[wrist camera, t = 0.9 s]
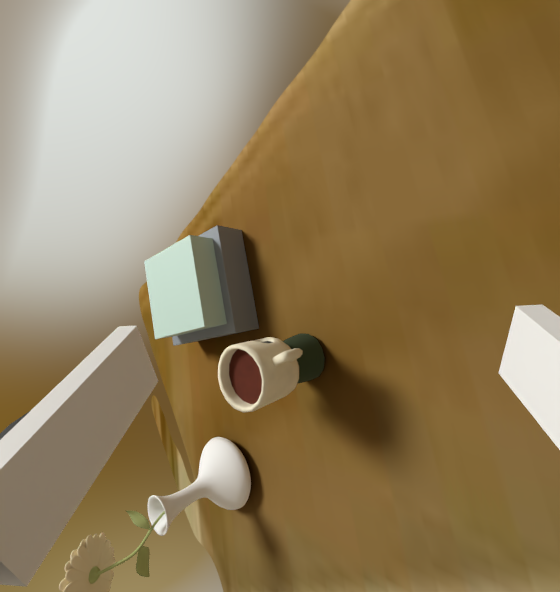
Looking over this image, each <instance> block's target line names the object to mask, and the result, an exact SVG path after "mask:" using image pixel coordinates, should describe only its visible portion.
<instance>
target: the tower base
mask: <svg viewBox="0 0 560 592" xmlns="http://www.w3.org/2000/svg"><path fill="white" fill-rule="evenodd" d="M144 263H145V270H146V277H147V284H148V291H149V298H150V305H151V313H152V320H153V327H154V334H155V339H159V338H166V337H172V338H173V345H179V344H185V343H191V342H197V341H202V340H206V339H211V338H216V337H221V336H226V335H230V334H235V333H240V332H245V331H250V330H254V329H259V325H258V319H257V313H256V308H255V302H254V297H253V291H252V286H251V280H250V275H249V269H248V264H247V258H246V252H245V247H244V241H243V236H242V230H238V229H233V228H228V227H223V226H215V227H214V228H212V229H210V230H208V231H206V232H205V233H203V234H201V235H199V236H193V235H189V236H187V237H186V238H184V239H182V240H180V241H179V242H177V243H175V244H174V245H172V246H170V247H168V248H167V249H165V250H163V251H162V252H160V253H158V254H156V255H155V256H153V257H151V258H150V259H148V260H146V261H144Z"/></svg>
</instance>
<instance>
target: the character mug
mask: <svg viewBox="0 0 560 592" xmlns="http://www.w3.org/2000/svg"><path fill="white" fill-rule="evenodd" d="M324 361H325V358H324V354H323V350H322V347H321V345H320V344H319V342H318V340H317V339H316V338H314V337H313V336H311V335H309V334H298V335H295V336H293V337H290V338H288V339H286V340H284V341H281V340H280V339H278V338H274V337H267V338H263V339H258V340H254V341H248V342H243V343H238V344H234V345H231V346H229V347H227V348H226V349H225V350H224V352H223V353H222V355H221V357H220V360H219V364H218V380H219V384H220V389H221V391H222V393H223V395H224V397H225V399H226V400H227V402H228V403H229V404H230V405H231V406H232V407H233V408H234V409H237V410H239V411H241V412H252V411H255V410H257V409H259V408H261V407H264V406H266V405H268V404H270V403H272V402H274V401H276V400H278V399H281V398H283V397H285V396H286V395H288V394H289V393H290V392H291V391H293V390H294V389H295V387H296V385H297V383H302V382H306V381H309V380H312V379H314V378H317V377H319V376H320V374H321V372H322V371H323V369H324Z"/></svg>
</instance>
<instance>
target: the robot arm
mask: <svg viewBox="0 0 560 592" xmlns="http://www.w3.org/2000/svg"><path fill="white" fill-rule="evenodd" d="M499 374H500V375H501V377H502V378H503V379H504V380H505V382H506V383H507V384H508V385H509V387H510V388H511V389H512V391H513V392H514V393H515V394H516V396H517V397H518V398H519V399H520V401H521V402H522V403H523V404H524V406H525V407H526V408H527V409H528V411H529V412H530V413H531V414H532V416H533V417H534V418H535V419H536V421H537V422H538V423H539V424H540V426H541V427H542V428H543V430H544V431H545V432H546V433H547V435H548V436H549V437H550V438H551V440H552V441H553V442H554V443H555V445H556V446H557V447H558V448H559V450H560V317H559V316H557V315H556V314H555V313H553V312H552V311H550V310H549V309H548V308H546V307H545V306H543V305H527V306H516V308H515V311H514V315H513V319H512V323H511V327H510V331H509V335H508V339H507V343H506V346H505V350H504V354H503V358H502V362H501V366H500V370H499ZM157 382H158V379H157V377H156V374H155V371H154V369H153V366H152V364H151V361H150V358H149V356H148V353H147V351H146V348H145V345H144V343H143V340H142V338H141V335H140V332H139V330H138V327H137V326H121V327H118V328H117V329H115V330H114V331H113V332H112V333H111V334H110V335H109V336H108V337H107V338H106V339H105V340H104V341H103V342H102V343H101V344H100V345H99V346H98V347H97V348H96V349H95V350H94V351H93V352H91V353H90V354H89V355H88V356H87V357H86V358H85V359H84V360H83V361H82V362H81V363H80V364H79V365H78V366H77V367H76V368H75V369H74V370H73V371H72V372H71V373H70V374H69V375H67V376H66V377H65V378H64V379H63V380H62V381H61V382H60V383H59V384H58V385H57V386H56V387H55V388H54V389H53V390H52V391H51V392H50V393H49V394H48V395H47V396H46V397H45V398H43V399H42V400H41V401H40V402H39V403H38V404H37V405H36V406H35V407H34V408H33V409H32V410H31V411H29V412H28V413H26V414H25V415H23V416H22V417H20V418H19V419H18V420H16V421H15V422H13V423H12V424H10V425H9V426H8V427H7V428H6V429H5V430H4V431H3V432H1V434H0V584H2V585H15V586H27V585H28V583H29V582H30V580H31V579H32V577H33V576H34V574H35V572H36V571H37V569H38V568H39V566H40V565H41V563H42V562H43V560H44V558H45V557H46V555H47V553H48V552H49V551H50V549H51V547H52V546H53V544H54V543H55V541H56V540H57V538H58V537H59V535H60V534H61V532H62V530H63V529H64V527H65V526H66V524H67V523H68V521H69V520H70V518H71V516H72V515H73V513H74V511H75V510H76V509H77V507H78V506H79V504H80V502H81V501H82V499H83V498H84V496H85V495H86V493H87V491H88V490H89V488H90V487H91V485H92V484H93V482H94V481H95V479H96V477H97V476H98V474H99V473H100V471H101V470H102V468H103V467H104V465H105V463H106V462H107V460H108V459H109V457H110V455H111V454H112V453H113V451H114V449H115V448H116V446H117V445H118V443H119V442H120V440H121V439H122V437H123V435H124V434H125V432H126V431H127V429H128V428H129V426H130V425H131V423H132V421H133V420H134V418H135V417H136V415H137V413H138V412H139V411H140V409H141V407H142V406H143V404H144V403H145V401H146V400H147V398H148V396H149V395H150V393H151V392H152V390H153V389H154V387H155V386H156V384H157Z"/></svg>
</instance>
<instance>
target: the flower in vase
mask: <svg viewBox="0 0 560 592" xmlns="http://www.w3.org/2000/svg"><path fill="white" fill-rule="evenodd" d="M250 489H251V477H250V472H249V468H248V465H247V462H246V460H245V458H244V456H243V454H242V453H241V451H240V450H239V448H238V447H237V446H236V445H235V444H234V443H233V442H231V441H230V440H228V439H225V438H222V437H215V438H212V439H211V440H210V441H209V442H208V443H207V444H206V445H205V447H204V449H203V452H202V455H201V459H200V465H199V475H198V478H197V479H196V481H195V482H193V483H192V484H191V485H189V486H188V487H186V488H184V489H183V490H181V491H179V492H176V493H174V494H171V495H168V496H155V495H153V496H151V497H150V498H149V500H148V515H149V519H150V522H151V524H152V527H151V528H150V525H149V522H148V520H147V519H146V518H145V517H144V516H143V515H142V514H140V513H138V512H136V511H126V512H127V513H128V514H129V515H130V517H131V519H132V521H133V523H134V524H135V525H136V526H139V527H141V528H145V529H149V531H148V533H147V535H146V536H145V538H144V539H143V541H142V542H141V544H140V546H139V547H138V548H137V549H136V550H135V551H134V552H133V553H132V554H131V555H129V556H128V557H126V558H124V559H122V560H121V561H119V562H117V563H115V558H114V557H113V556H114V548H113V547H110V544H111V543H110V540H106V537H105V534H104V533H103V532H102V533H101V534H100V536H99V535H98V534H95V535H94V536H93V537H92V535H88V536H87V538H86V540H85V539H84V540H82V541H81V543H80V546H79V547H78V549H77V550H73V551H72V553H71V556H70V558H71V561H69V562H67V563H66V565H65V571H66V576H65V578H64V579H63V580H62V581H61V582H60V585H59V590H60V591H63V592H109V591H110V588H111V581H112V579H113V576H114V572H113V571H112V570H111V569H112V568H114V567H115V566H118V565H119V564H121V563H123V562H125V561H127V560H128V559H130V558H131V557H132V556H134V555H135V554H136V553H137V552H138V557H137V564H136V571H137V573H138V574H139V575H141V576H144V577H149V548H148V547H144V546H143V544H144V543H145V541H146V539H147V538H148V536H149V535H150V533H151V531H152V530H153V528H154V530H155V531H156V532H157V533H158V534H159V535H162V536H163V535H165V534H166V532H167V530H168V528H169V526H170V524H171V522H172V521H173V520H174V518H175V517H176V516H177V515H178V514H179V513H180V512H181V511H182V510H183V509H185V508H186V507H187V506H188V505H190V504H191V503H192V502H194V501H196V500H197V499H200V498H202V497H206V498H208V499H210V500H211V501H213V502H214V503H215V504H217V505H218V506H220V507H223V508H225V509H228V510H235V509H239V508H241V507H243V506H244V505H245V504H246V502H247V500H248V497H249V494H250ZM114 563H115V564H114Z"/></svg>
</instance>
